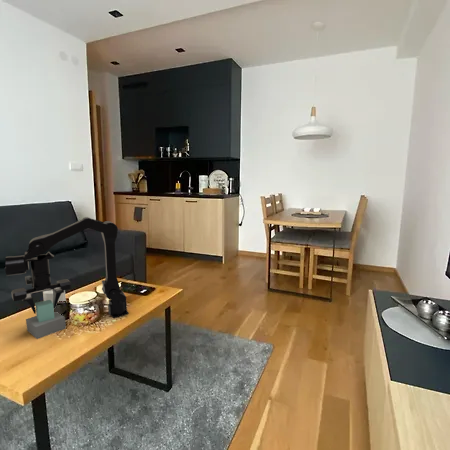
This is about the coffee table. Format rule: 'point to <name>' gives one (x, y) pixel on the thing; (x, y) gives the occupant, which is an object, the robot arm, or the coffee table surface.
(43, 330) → the charcoal box
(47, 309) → the teal block
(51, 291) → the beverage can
